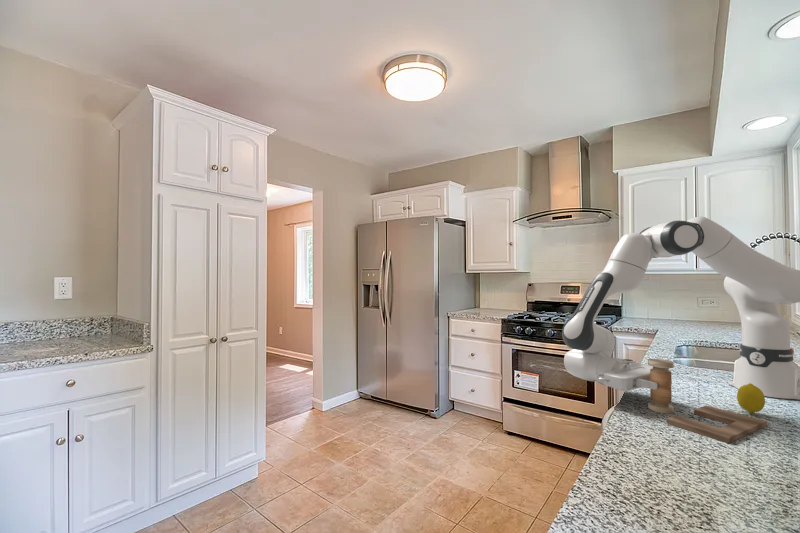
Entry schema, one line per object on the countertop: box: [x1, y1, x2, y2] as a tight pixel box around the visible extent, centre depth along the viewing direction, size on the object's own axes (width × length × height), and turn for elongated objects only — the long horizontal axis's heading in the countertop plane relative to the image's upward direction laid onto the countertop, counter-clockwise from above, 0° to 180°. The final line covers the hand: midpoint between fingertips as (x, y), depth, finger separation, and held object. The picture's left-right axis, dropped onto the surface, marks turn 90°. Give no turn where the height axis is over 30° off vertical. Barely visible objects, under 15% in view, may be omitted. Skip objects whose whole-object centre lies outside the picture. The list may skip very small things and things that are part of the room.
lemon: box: [736, 383, 766, 415], centre depth 102 cm, size 6×6×8 cm
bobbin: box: [647, 358, 675, 414], centre depth 105 cm, size 6×6×13 cm
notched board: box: [666, 405, 768, 444], centre depth 95 cm, size 20×12×1 cm, turn 119°
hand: (664, 384), depth 104 cm, fingers closed on bobbin, 5 cm apart
